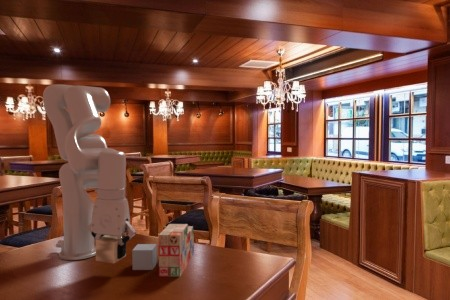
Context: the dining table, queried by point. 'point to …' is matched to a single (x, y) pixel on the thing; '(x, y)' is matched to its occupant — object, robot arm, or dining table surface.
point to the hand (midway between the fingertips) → (111, 255)
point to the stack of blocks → (175, 249)
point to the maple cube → (107, 249)
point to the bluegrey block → (144, 256)
